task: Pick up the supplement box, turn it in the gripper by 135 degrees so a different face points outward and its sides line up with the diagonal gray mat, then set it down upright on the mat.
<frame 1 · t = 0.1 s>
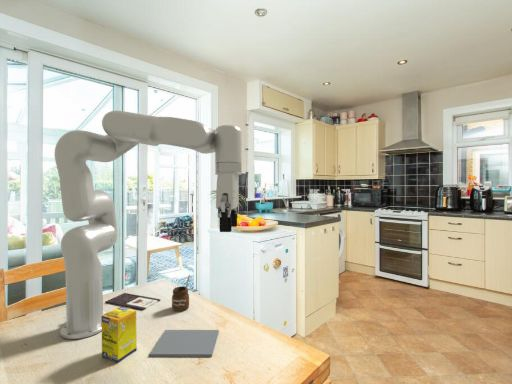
hand: (228, 229, 80), 31 cm above the table, tool pointing down, fingers open, 9 cm apart
gray mat: (186, 343, 77), on the table
supplement box: (119, 354, 72), on the table
utensil holder: (181, 308, 99), on the table
chocolate bar: (133, 303, 105), on the table
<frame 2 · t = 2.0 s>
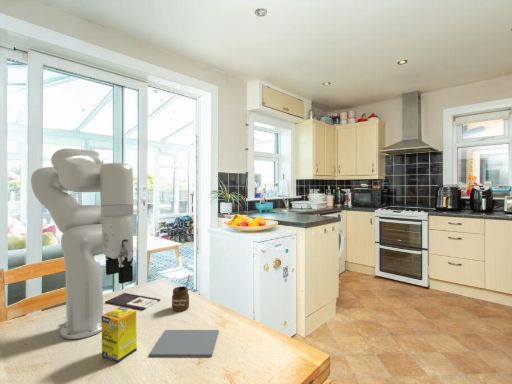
hand: (118, 277, 72), 20 cm above the table, tool pointing down, fingers open, 9 cm apart
nothing on the table moved.
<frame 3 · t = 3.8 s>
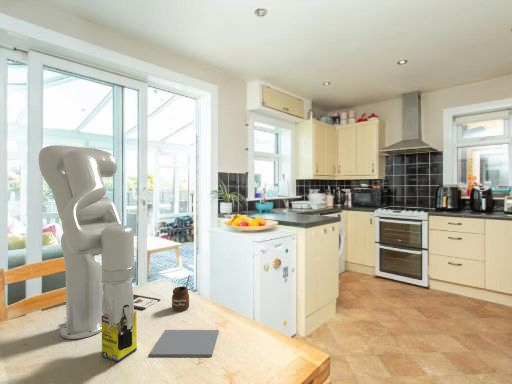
hand: (119, 340, 72), 3 cm above the table, tool pointing down, fingers closed on supplement box, 7 cm apart
supplement box: (119, 354, 72), on the table, touching gripper
everything else where it was.
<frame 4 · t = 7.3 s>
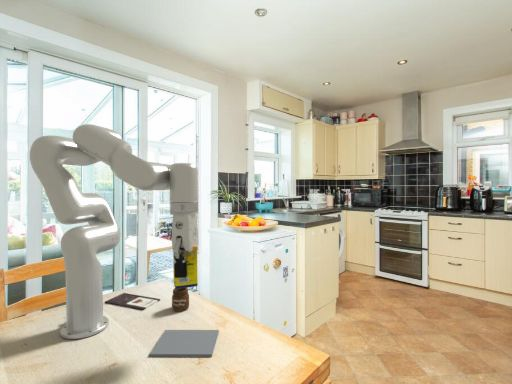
hand: (185, 272, 77), 20 cm above the table, tool pointing down, fingers closed on supplement box, 7 cm apart
supplement box: (185, 285, 77), point 16 cm above the table, touching gripper
everything else where it was.
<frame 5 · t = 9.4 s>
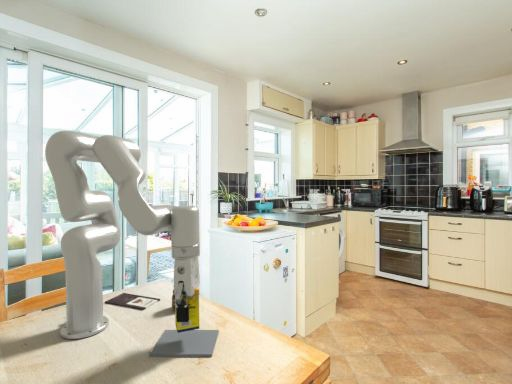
hand: (186, 313, 77), 8 cm above the table, tool pointing down, fingers closed on supplement box, 7 cm apart
supplement box: (187, 326, 77), point 5 cm above the table, touching gripper
everything else where it was.
when the fingers open (5 cm above the table, at t = 11.1 s): supplement box stays where it is, resting on gray mat.
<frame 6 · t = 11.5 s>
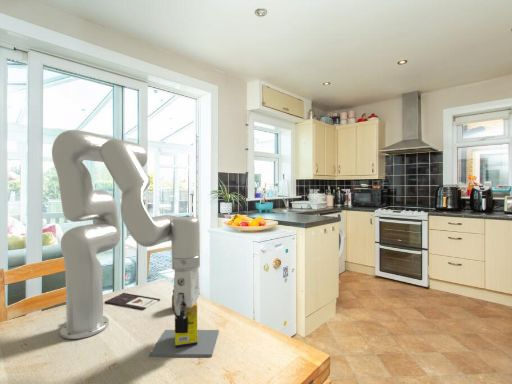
hand: (186, 323, 77), 6 cm above the table, tool pointing down, fingers open, 9 cm apart
supplement box: (186, 341, 77), resting on gray mat
everything else where it was.
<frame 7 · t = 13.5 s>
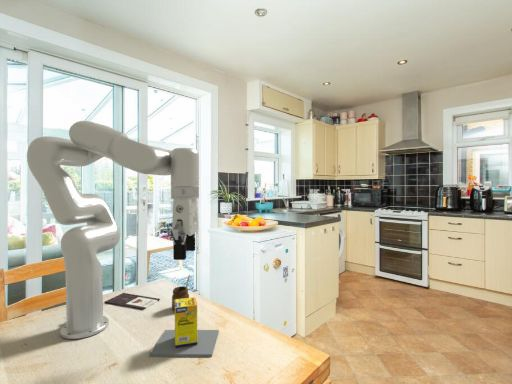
hand: (185, 254, 77), 24 cm above the table, tool pointing down, fingers open, 9 cm apart
nothing on the table moved.
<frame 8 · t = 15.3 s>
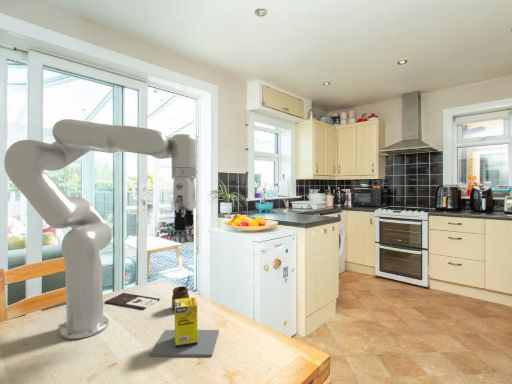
hand: (184, 227, 88), 30 cm above the table, tool pointing down, fingers open, 9 cm apart
nothing on the table moved.
at the end: supplement box inside the target area on the gray mat (0.2 cm from its centre), point 0.4 cm above the gray mat's base; supplement box tilted 0°; the gripper is holding nothing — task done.
